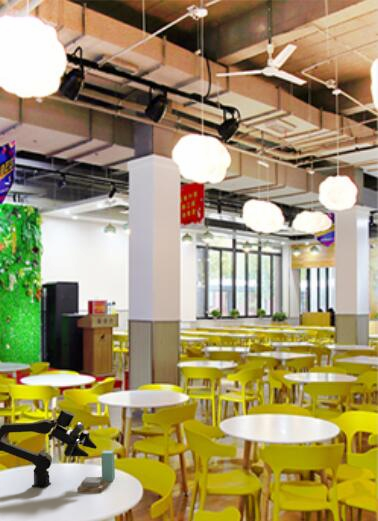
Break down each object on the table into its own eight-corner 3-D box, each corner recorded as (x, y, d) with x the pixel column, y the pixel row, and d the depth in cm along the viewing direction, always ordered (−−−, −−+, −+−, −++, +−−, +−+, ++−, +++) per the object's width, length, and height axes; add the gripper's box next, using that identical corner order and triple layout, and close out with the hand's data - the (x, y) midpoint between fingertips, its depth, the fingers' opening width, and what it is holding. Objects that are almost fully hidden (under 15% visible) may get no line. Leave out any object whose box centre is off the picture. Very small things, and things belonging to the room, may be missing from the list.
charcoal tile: (81, 487, 260) (81, 482, 260) (86, 481, 267) (86, 477, 268) (98, 487, 259) (98, 482, 259) (103, 481, 267) (103, 476, 267)
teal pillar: (102, 481, 273) (101, 453, 273) (104, 478, 278) (103, 450, 278) (112, 481, 272) (111, 453, 273) (114, 478, 277) (114, 450, 278)
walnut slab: (77, 493, 258) (77, 488, 258) (84, 485, 269) (84, 480, 269) (101, 493, 257) (101, 488, 257) (107, 485, 268) (107, 480, 268)
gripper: (61, 428, 262) (90, 444, 259) (78, 414, 280) (106, 429, 277) (52, 448, 264) (81, 465, 261) (70, 434, 282) (98, 449, 279)
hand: (92, 451), depth 270 cm, fingers open, 9 cm apart
